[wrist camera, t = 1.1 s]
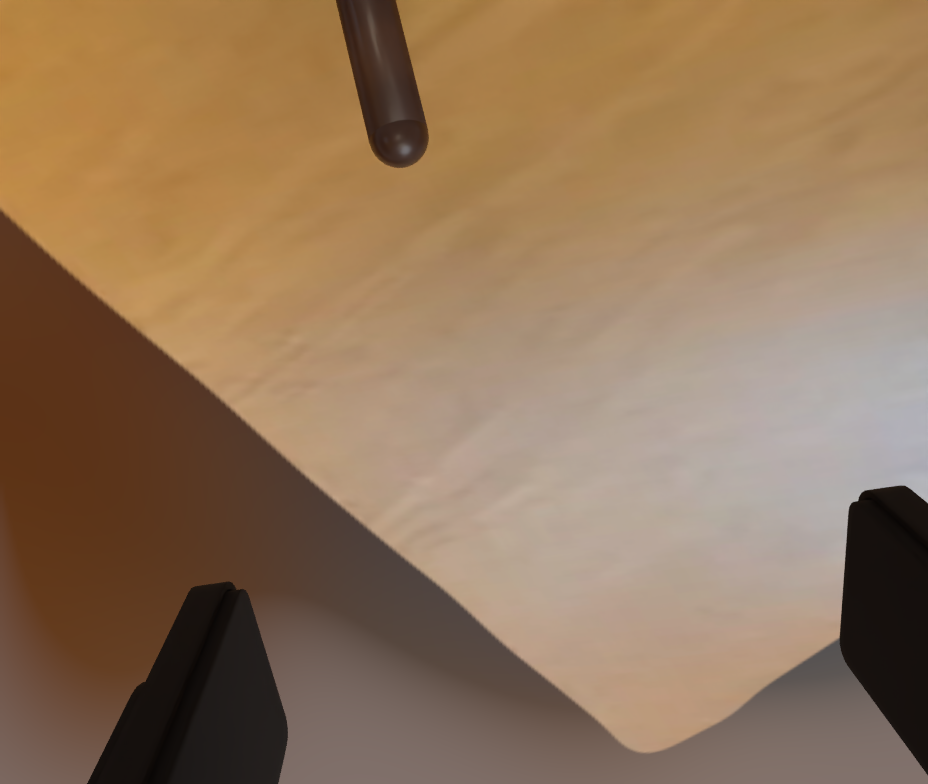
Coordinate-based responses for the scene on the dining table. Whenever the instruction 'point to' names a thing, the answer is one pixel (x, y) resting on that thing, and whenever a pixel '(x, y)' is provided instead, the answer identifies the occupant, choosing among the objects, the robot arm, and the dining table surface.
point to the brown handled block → (384, 80)
